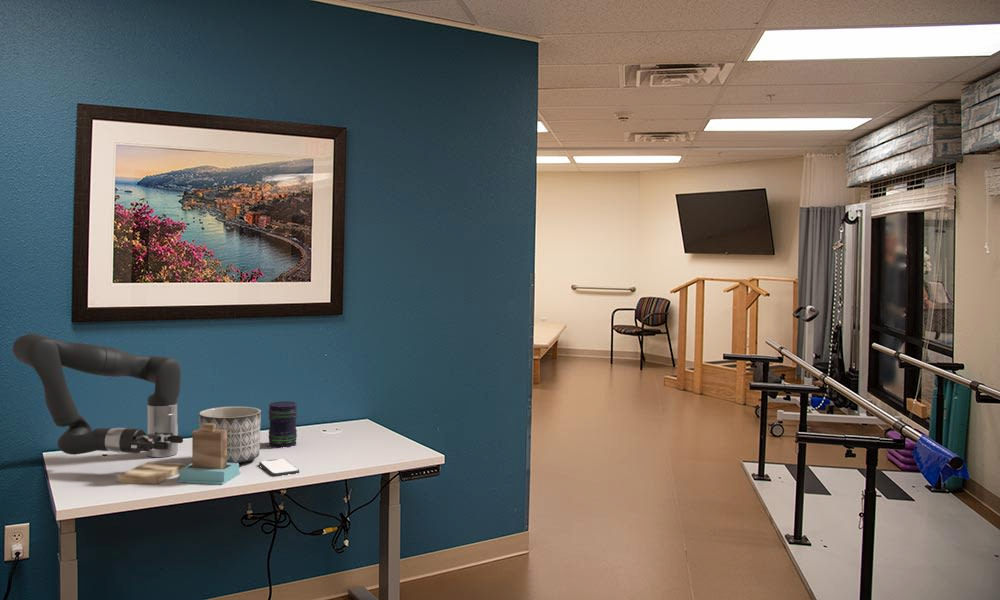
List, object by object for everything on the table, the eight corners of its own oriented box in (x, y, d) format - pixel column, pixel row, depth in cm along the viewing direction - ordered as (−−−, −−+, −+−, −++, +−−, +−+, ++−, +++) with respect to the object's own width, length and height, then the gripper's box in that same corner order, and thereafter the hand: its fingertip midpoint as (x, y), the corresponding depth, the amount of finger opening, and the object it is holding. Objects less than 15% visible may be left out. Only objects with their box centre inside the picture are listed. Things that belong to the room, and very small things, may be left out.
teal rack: (197, 471, 241) (197, 460, 241) (240, 473, 240) (240, 462, 240) (177, 482, 229) (177, 470, 229) (222, 484, 228) (222, 472, 228)
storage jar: (280, 440, 285) (280, 400, 284) (302, 443, 281) (302, 402, 281) (262, 446, 276) (262, 404, 275) (285, 449, 272) (285, 407, 272)
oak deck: (148, 468, 244) (148, 461, 244) (184, 469, 243) (184, 463, 243) (117, 482, 228) (117, 475, 228) (156, 484, 227) (156, 477, 227)
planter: (187, 461, 253) (187, 412, 252) (238, 451, 268) (238, 404, 267) (220, 472, 241) (221, 420, 240) (272, 460, 256) (272, 411, 256)
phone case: (300, 475, 242) (284, 462, 255) (300, 470, 242) (284, 458, 255) (272, 479, 237) (257, 466, 250) (272, 474, 237) (257, 461, 250)
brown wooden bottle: (198, 473, 237) (198, 422, 236) (226, 475, 236) (227, 423, 235) (192, 477, 233) (192, 424, 232) (220, 478, 232) (220, 426, 231)
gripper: (111, 433, 230) (162, 435, 228) (138, 423, 244) (187, 425, 242) (111, 458, 230) (162, 460, 228) (138, 446, 244) (187, 449, 243)
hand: (175, 442), depth 235 cm, fingers open, 8 cm apart
